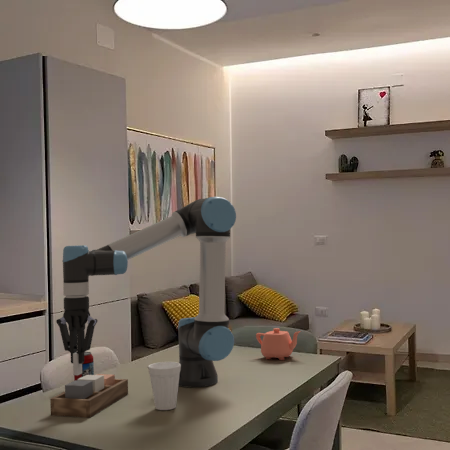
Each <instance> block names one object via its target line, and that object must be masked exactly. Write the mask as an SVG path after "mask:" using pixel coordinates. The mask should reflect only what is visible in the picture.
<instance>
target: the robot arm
mask: <svg viewBox="0 0 450 450" xmlns="http://www.w3.org/2000/svg"><path fill="white" fill-rule="evenodd" d="M236 212H237V211H236V208H235V206H234V205H233V204H232V202H231V201H229V200H228V199H226V198H225V197H222V196H209V197H206V198H199V199H196V200H193V201H192V202H190V203H188V204H186V205H185V206H183V207H181V208H179V209H177V210H175V211H173V212H171V215H170V216H169V217H166V218H164V219H162V220H160V221H158V222H157V221H156V223H153V224H151V225H149V226H147V227H143V228H142V229H140V230H138V231H135V232H133V233H130V234H129V235H126V236H124V237H122V238H119V239H117V240H115V241H113V242H111V243H108V244H107V245H105V246H101V247H100V248H97V249H92V250H90V249H89V247H88V245H66V246H64V247H63V249H62V250H63V251H62V274H63V276H62V278H63V281H62V283H63V284H62V285H63V286H62V287H63V296H65V297H64V298H63V309H64V311H63V315H62V317H60V318H58V319H56V321H55V322H56V324H57V326H58V327H59V332H60V336H61V339H62V344H63V348H64V349H63V350H65V351H67V352H69V353H70V363H71V364H72V365H73V366H72V370H73V373H72V374H73V376H74V375H80V374H82V363H84V352H88V351H89V350H91V346H92V341H93V337H94V332H95V327H96V325H97V323H98V319H97V318H94V317H92V316H91V313H90V311H89V309H90V297H89V296H88V295H89V294H90V289H89V288H90V286H89V285H90V283H89V282H90V281H89V278H90V277H94V276H118V275H125V274H126V273H127V270H128V266H129V265H128V264H129V262H128V261H129V260H131V259H133V258H135V257H137V256H139V255H142V254H144V253H146V252H148V251H151V250H153V249H155V248H157V247H160V246H162V245H164V244H166V243H168V242H170V241H173V240H175V239H177V238H178V237H181V238H186V237H188V236H189V235H192V234H195V238H196V239H197V240H198V241H199V293H198V300H199V301H198V314H197V315H196V316H195V317H184V318H180V319H179V320H178V325H177V326H178V327H177V331H178V334H177V335H178V355H179V356H178V359H179V361H178V363H180V364H181V370H180V375H179V384H178V387H184V388H201V387H202V388H203V387H210V386H212V385H213V386H214V385H215V384H217V383H218V381H219V380H218V379H219V377H218V371H217V370H216V367H215V364H214V362H220V361H222V360H224V359H225V358H227V357H228V356H229V355H230V354H231V353H232V351H233V348H234V345H235V337H234V334H233V333H232V331H231V329H230V318H229V317H228V316H227V315H226V312H225V309H226V308H225V306H226V305H225V301H226V300H225V299H226V297H225V296H226V249H227V248H226V246H227V244H226V243H227V242H228V241H229V240H230V239H231V229H232V228H233V226H235V223H236V219H237V213H236ZM86 324H87V326H86ZM85 330H86V331H85Z"/></svg>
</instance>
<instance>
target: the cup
mask: <svg viewBox="0 0 450 450" xmlns="http://www.w3.org/2000/svg"><path fill="white" fill-rule="evenodd" d="M147 369H148V374H149V379H150V385H151V390H152V397H153V401H154V406H155V407H154V408H155V410H159V411H169V410H173V409H176V408H177V400H178V393H179V392H178V391H179V386H178V384H179V375H180V370H181V364H180V363H179V362H176V361H160V362H154V363H151V364H148V366H147Z"/></svg>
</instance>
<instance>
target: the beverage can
mask: <svg viewBox="0 0 450 450" xmlns="http://www.w3.org/2000/svg"><path fill="white" fill-rule="evenodd" d="M94 364H95V363H94V356H93V354H92V352H91V351H85V352H84V363H82V374H80V375H73V378H74V380H73V381H75V380H78V379H79V378H81V377H83V376H85V375H95V365H94Z"/></svg>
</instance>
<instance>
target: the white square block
mask: <svg viewBox="0 0 450 450" xmlns="http://www.w3.org/2000/svg"><path fill="white" fill-rule="evenodd" d="M78 381H93V392H98V391H100V390H102V389H103V388H104V375H97V374H94V375H85V376H83V377H81V378H79V379H78Z"/></svg>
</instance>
